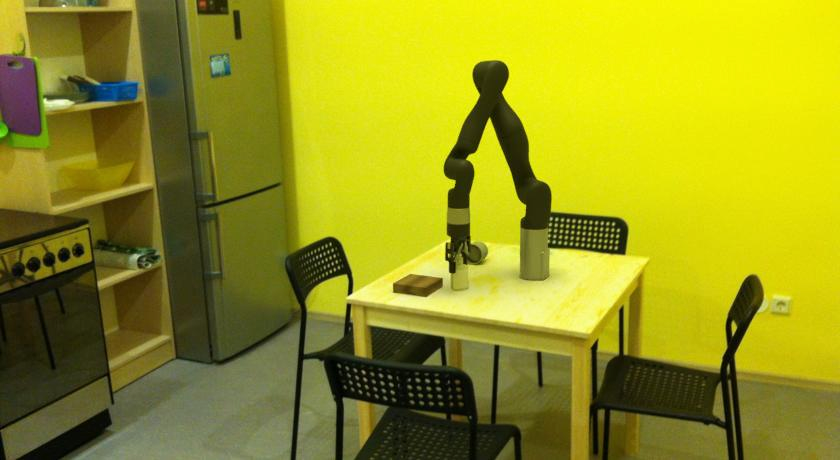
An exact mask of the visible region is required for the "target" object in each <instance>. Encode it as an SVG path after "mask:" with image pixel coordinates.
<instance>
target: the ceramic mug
mask: <svg viewBox="0 0 840 460" xmlns="http://www.w3.org/2000/svg"><path fill="white" fill-rule="evenodd" d="M467 247H468V246H467ZM488 254H489V248H488V246H487V244H485V243H484V242H482V241H479V240H478V241H477V240H476V241H473V242H471V252H470V253H469V254H468V256H467V265H468V264H469V265H471V266H475V265H478V264H480V263H481V262H482V261H483V260H485V259H486V257H487V256H488Z"/></svg>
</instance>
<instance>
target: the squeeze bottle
mask: <svg viewBox="0 0 840 460" xmlns="http://www.w3.org/2000/svg"><path fill="white" fill-rule="evenodd" d="M450 289H451V290H452V291H465V290H469V266H468V264H467V265H465V264H463V257H461V254H459V256H458V257H457V259H456V273H454V274H453V273H450Z"/></svg>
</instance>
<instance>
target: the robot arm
mask: <svg viewBox="0 0 840 460" xmlns="http://www.w3.org/2000/svg"><path fill="white" fill-rule="evenodd" d="M509 77H510V71H509V67H508V65H507V64H506V63H505V62H504V61H502V60H497V59H494V60H484V61H479V62H477V63H476V64H475V65H474V67H473V69H472V80H473V81H472V82H473V83H474V87H475V88H476V90H477V92H478V94H479V97H478V99H477V101H476V103H475V105H474V106H473V107H472V109H471V111H470V112H469V113H468V115H467V116H466V118H465V120H464V121H463V123H462V125H461V128H460V131H459V133H458V137H457V140H456V143H455V144H454V146H453V147H452V148H451V150H450V152H449V153H448V155H447V157H446V159H445V161H444V164H443V174H444V176H445V177H446V178H447V179H449V180H451V181H455V182H454V186H453V188H450V189H448V191H447V209H446V236H448V237H450V241H449V242H447V241H446V242H445V251H444V260H445V261H446V262H448V273H449V274H451V273H453V274H454V273H456V259H457V257H458V256H459V254H461V257H463V264H465V265H467V266H468V263H467V256H468V254H469V253H470V252H471V243H472V242H471V237H472V235H471V209H470V208H471V207H470V205H471V204H470V194H471V191H472V188H473V183H474V179H475V168H474V165H473V163H472V162H471V160H468V157H469V156H470V155H473V154H475V153H476V152H478V149H479V145H480V144H481V140H482V138H483V135H484V132H485V129H486V127H487V124H488V122H489V120H490V121H491V125H492V128H493V130H494V132H495V135H496V138H497V141H498V144H499V146H500V149H501V150H502V153H503V156H504V159H505V161H506V164H507V165H508V168H509V171H510V174H511V178H512V181H513V185H514V190H515V193H516V196H517V198H518V200H519V201H520V203H522V204H523V205H525V215H524V216H523V217H522V218H521V219H520V225H519V230H520V231H519V234H520V235H519V276H520V278H521V279H524V280H530V281H544V280H545V279H547V278H548V277H549V276H550V258H551V257H550V255H551V253H550V252H551V251H550V248H548V247H549V245H548V244H549V242H548V241H549V221H550V220H551V216H552V215H551V214H552V203H553V202H552V199H553V197H552V190H551V187H550V186H549V184H548V183H546V182H545V181H543V180H539V179H537V177H536V175H535V173H534V170H533V168H532V165H531V161H530V143H529V137H528V135H527V132H526V129H525V126H524V124H523V122H522V120H521V118H520V116H518V114H517V113H516V112H515V110H514V109H513V108H512V107H511V106H510V104H509V103H508V102H507V100H506V98H505V96H504V94H503V91H504V90H505V87H506V85H507V83H508V81H509V79H510V78H509ZM467 246H468V247H467Z"/></svg>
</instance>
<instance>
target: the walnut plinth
mask: <svg viewBox="0 0 840 460" xmlns="http://www.w3.org/2000/svg"><path fill="white" fill-rule="evenodd" d="M443 287H444V278H443V277H439V276H431V275H430V276H429V275H423V274H416V273H409V274H407V275H406V276H404V277H402V278H400V279H397V280H396V281H395V282H393V283H392V293H394V294H395V293H396V294H403V295H409V296H416V297H417V296H418V297H424V298H427V297H428V296H430V295H432V294H433V293H435V292H436V291H439V290H440V289H442V288H443Z"/></svg>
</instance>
